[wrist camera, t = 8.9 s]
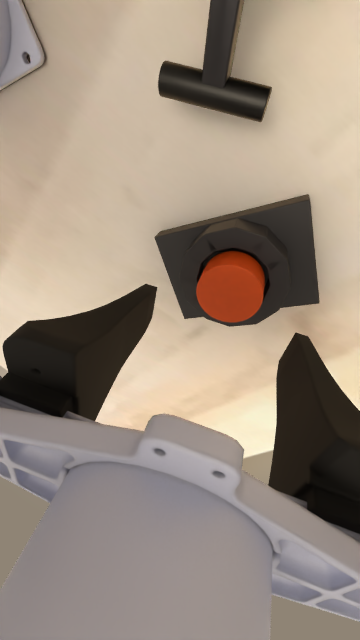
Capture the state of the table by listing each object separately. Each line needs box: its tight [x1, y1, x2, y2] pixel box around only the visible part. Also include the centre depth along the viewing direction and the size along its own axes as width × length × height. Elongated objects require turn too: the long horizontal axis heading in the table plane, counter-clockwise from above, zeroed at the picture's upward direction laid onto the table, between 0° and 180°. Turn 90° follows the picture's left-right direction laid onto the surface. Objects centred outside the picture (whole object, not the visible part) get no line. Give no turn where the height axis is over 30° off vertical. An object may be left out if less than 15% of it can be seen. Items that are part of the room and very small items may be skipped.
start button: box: [196, 251, 265, 322], centre depth 19 cm, size 4×4×2 cm
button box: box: [155, 195, 319, 326], centre depth 20 cm, size 10×7×3 cm
